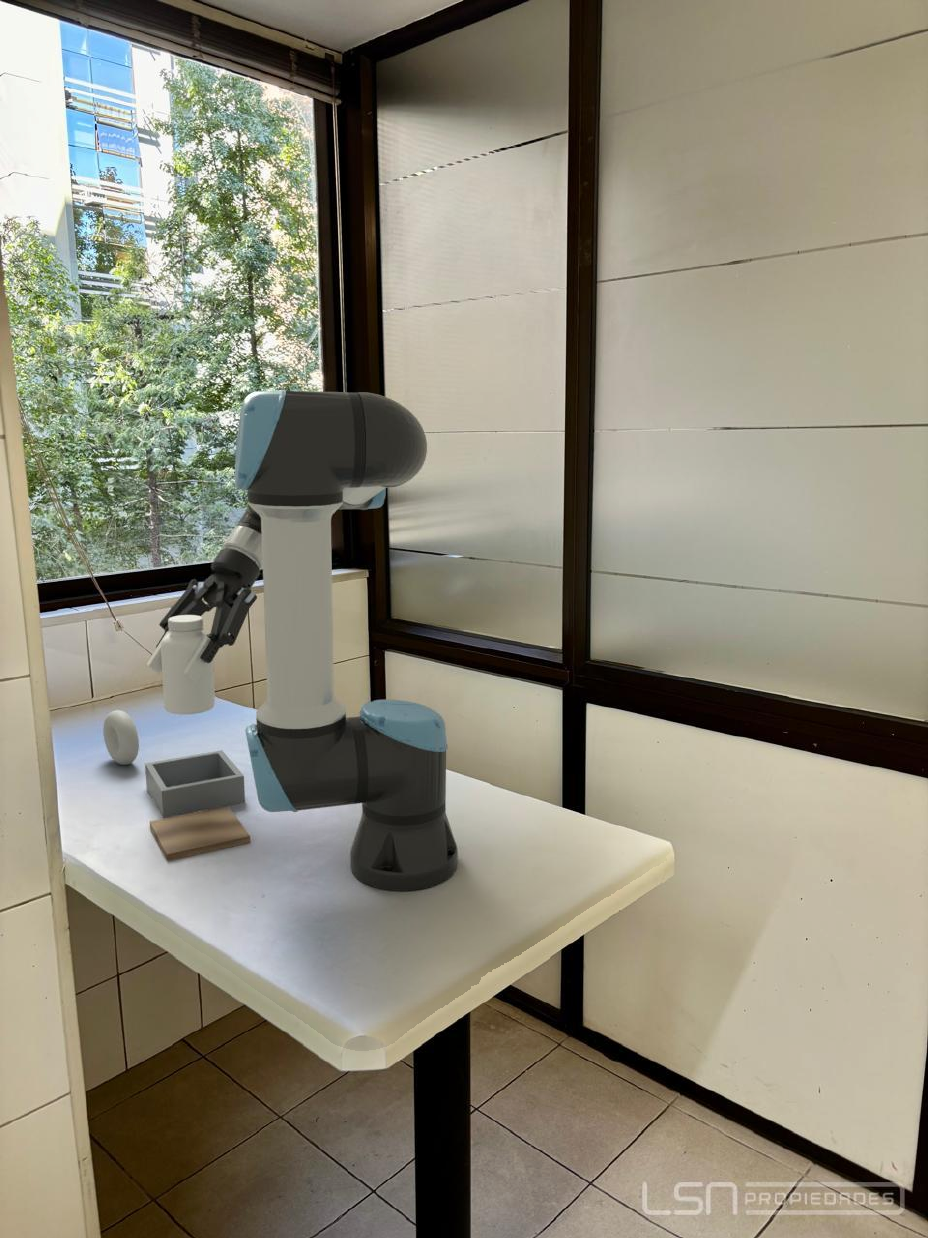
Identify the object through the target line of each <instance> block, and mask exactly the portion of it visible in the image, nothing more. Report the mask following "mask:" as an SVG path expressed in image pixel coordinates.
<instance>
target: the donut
mask: <svg viewBox="0 0 928 1238" xmlns="http://www.w3.org/2000/svg"><path fill="white" fill-rule="evenodd" d="M102 729H103V738H104V740H103V741H104V743H105V748H106V750H107V752H108V754H109V756H110V757H111V759H112V760H113V762H115V763H116V764H119V765H122V766H129V765H130V764H132V763H133V762H134V761H135V760H136V759H137V757H138V754H139V750H140V740H139V735H138V733H139V732H138V730H137V727H136V725H135V722H134V720H133V719H132V718H131V715H129V714H128V713H127V712H125V711H124V710H120V709H115V710H112V711H110V712H109V713H107V715H106V717H105V719H104V720H103V728H102Z"/></svg>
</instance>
